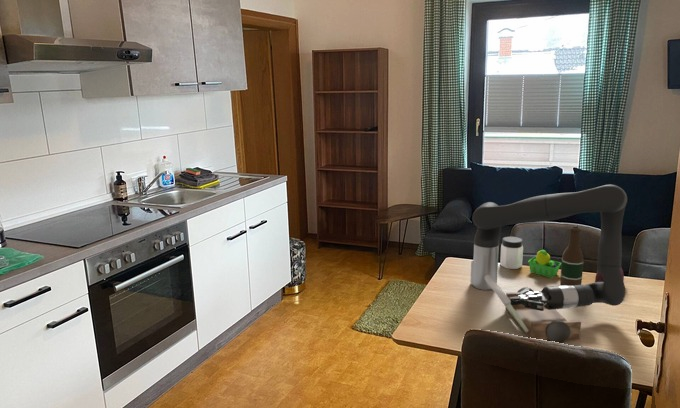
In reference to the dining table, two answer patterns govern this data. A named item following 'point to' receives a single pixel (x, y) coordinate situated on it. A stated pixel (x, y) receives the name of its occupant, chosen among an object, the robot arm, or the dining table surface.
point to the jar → (511, 252)
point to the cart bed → (546, 323)
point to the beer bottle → (572, 260)
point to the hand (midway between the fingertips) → (508, 301)
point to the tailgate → (504, 300)
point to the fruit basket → (544, 265)
